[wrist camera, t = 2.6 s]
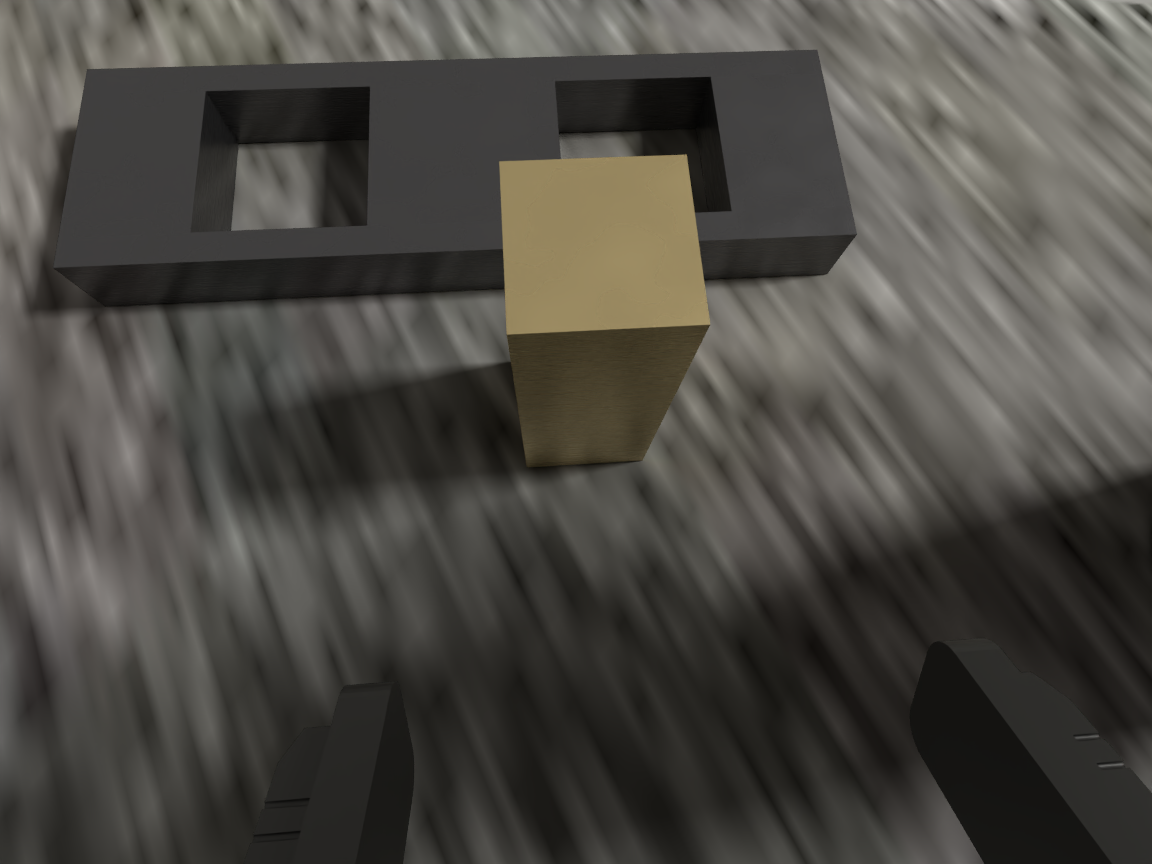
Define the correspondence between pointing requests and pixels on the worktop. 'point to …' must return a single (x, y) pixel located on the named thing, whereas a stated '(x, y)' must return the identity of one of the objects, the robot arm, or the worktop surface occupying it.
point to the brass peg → (599, 301)
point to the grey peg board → (431, 168)
